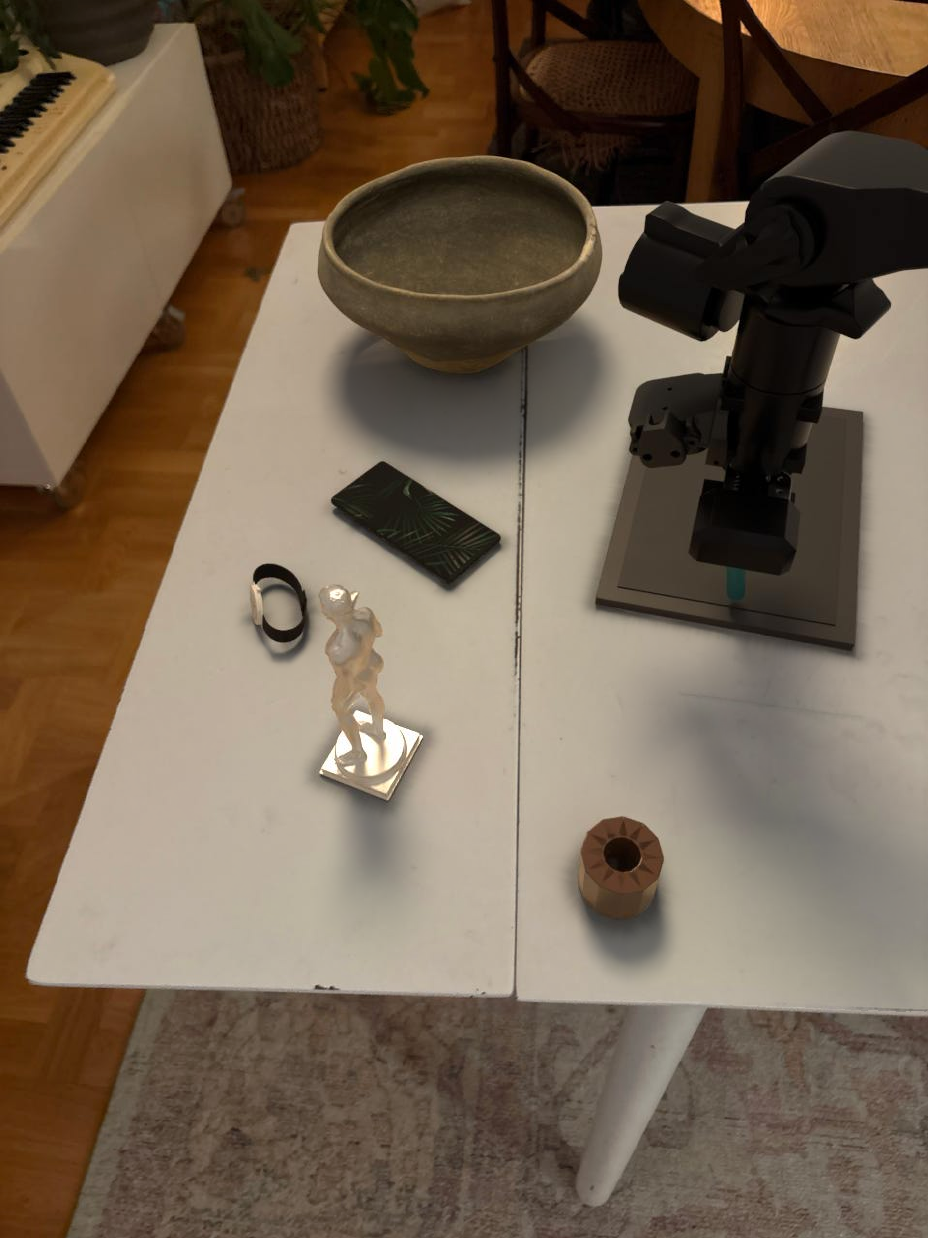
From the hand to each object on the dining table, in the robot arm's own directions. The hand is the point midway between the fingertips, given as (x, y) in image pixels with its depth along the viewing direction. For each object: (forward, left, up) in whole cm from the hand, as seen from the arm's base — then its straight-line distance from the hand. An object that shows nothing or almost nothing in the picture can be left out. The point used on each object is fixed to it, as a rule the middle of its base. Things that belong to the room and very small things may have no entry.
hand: (733, 540), depth 67 cm
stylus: (-1, +1, -6) cm, 7 cm away
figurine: (+28, +8, -8) cm, 30 cm away
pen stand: (+13, +21, -8) cm, 26 cm away
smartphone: (+23, -14, -8) cm, 28 cm away
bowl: (+15, -40, -8) cm, 44 cm away
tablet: (-5, -11, -8) cm, 15 cm away
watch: (+35, -6, -8) cm, 37 cm away
